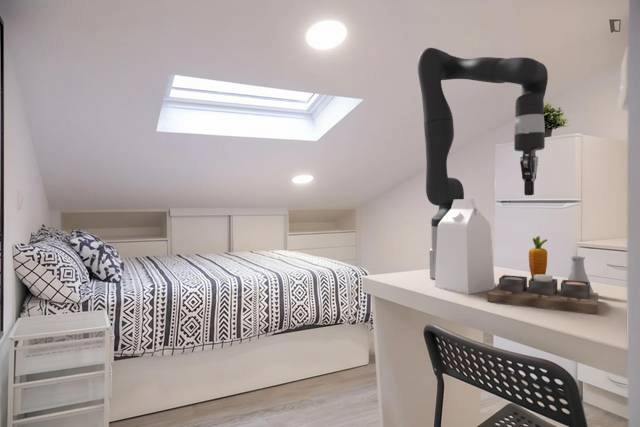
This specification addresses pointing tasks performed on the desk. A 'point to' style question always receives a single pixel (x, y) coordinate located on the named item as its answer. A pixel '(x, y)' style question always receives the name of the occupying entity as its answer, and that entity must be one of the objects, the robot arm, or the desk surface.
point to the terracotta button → (575, 283)
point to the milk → (464, 250)
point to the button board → (545, 294)
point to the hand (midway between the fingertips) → (529, 195)
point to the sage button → (513, 278)
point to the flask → (578, 270)
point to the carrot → (538, 258)
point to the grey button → (543, 278)
